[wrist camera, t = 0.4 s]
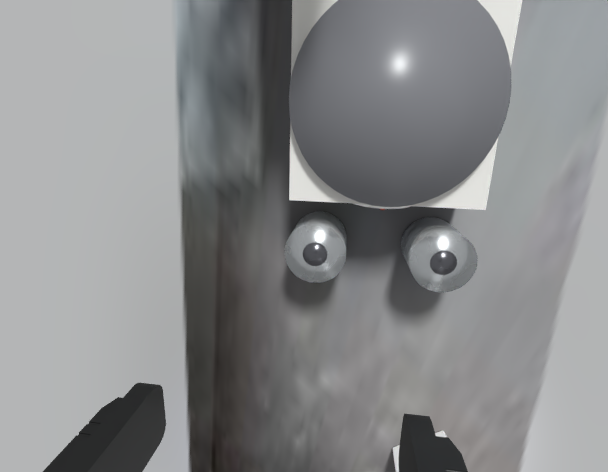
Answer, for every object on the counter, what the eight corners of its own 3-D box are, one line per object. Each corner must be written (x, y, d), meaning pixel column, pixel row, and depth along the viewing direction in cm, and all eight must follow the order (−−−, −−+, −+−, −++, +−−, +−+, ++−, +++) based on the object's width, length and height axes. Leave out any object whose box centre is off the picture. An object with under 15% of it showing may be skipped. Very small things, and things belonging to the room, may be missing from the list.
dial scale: (304, 15, 28) (290, -23, 21) (487, 12, 26) (533, -29, 20) (299, 194, 32) (287, 209, 25) (458, 202, 30) (488, 220, 24)
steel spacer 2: (403, 215, 31) (414, 229, 26) (461, 218, 31) (482, 233, 26) (398, 267, 33) (406, 290, 28) (453, 271, 32) (472, 295, 27)
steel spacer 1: (294, 209, 32) (284, 222, 27) (348, 212, 32) (348, 226, 27) (293, 260, 34) (283, 280, 29) (345, 263, 33) (344, 285, 28)
